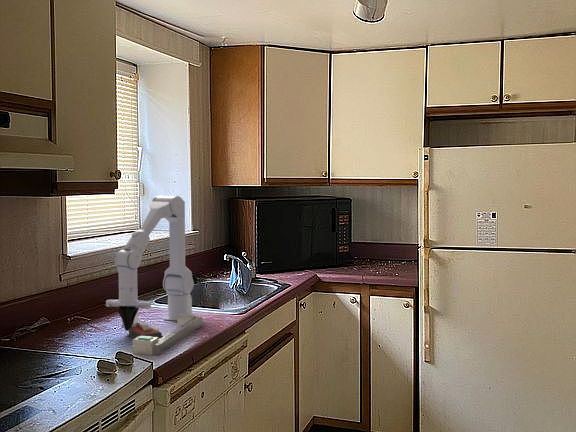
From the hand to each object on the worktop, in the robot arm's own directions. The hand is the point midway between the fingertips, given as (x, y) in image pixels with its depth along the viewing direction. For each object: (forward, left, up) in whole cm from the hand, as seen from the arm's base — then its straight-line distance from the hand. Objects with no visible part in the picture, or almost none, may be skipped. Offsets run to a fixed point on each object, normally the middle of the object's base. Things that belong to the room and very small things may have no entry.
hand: (128, 329), depth 195 cm
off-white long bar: (+2, +15, -1) cm, 15 cm away
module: (-12, -6, -2) cm, 14 cm away
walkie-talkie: (0, +5, -2) cm, 6 cm away
